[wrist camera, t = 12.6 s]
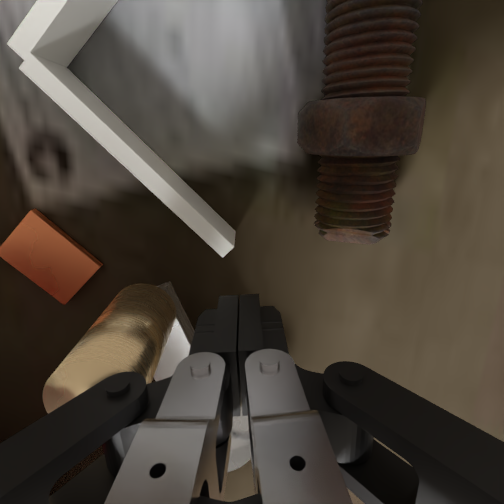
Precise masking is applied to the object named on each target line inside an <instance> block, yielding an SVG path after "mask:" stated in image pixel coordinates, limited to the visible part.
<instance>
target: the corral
mask: <svg viewBox="0 0 504 504" xmlns="http://www.w3.org/2000/svg"><path fill="white" fill-rule="evenodd" d="M117 1H118V0H37V1H36V2H35V4H34V5H33V7H32V8H31V10H30V11H29V13H28V14H27V15H26V17H25V18H24V20H23V21H22V23H21V24H20V25H19V27H18V28H17V30H16V31H15V33H14V34H13V35H12V37H11V38H10V40H9V41H8V43H7V45H8V46H9V47H11V48H12V49H13V50H14V51H15V52H16V53H17V54H18V55H19V56H20V57H21V58H22V59H23V60H24V61H23V63H22V64H21V66H20V67H19V69H20V70H21V71H22V72H23V73H24V74H25V75H26V76H27V77H29V78H30V79H31V80H32V81H33V82H34V83H35V84H36V85H37V86H38V87H39V88H40V89H41V90H43V91H44V92H45V93H46V94H47V95H48V96H49V97H50V98H51V99H52V100H53V101H54V102H55V103H57V104H58V105H59V106H60V107H61V108H62V109H63V110H64V111H65V112H66V113H67V114H68V115H69V116H71V117H72V118H73V119H74V120H75V121H76V122H77V123H78V124H79V125H80V126H81V127H82V128H83V129H85V130H86V131H87V132H88V133H89V134H90V135H91V136H92V137H93V138H94V139H95V140H96V141H97V142H99V143H100V144H101V145H102V146H103V147H104V148H105V149H106V150H107V151H108V152H109V153H110V154H111V155H113V156H114V157H115V158H116V159H117V160H118V161H119V162H120V163H121V164H122V165H123V166H124V167H125V168H126V169H128V170H129V171H130V172H131V173H132V174H133V175H134V176H135V177H136V178H137V179H138V180H139V181H140V182H142V183H143V184H144V185H145V186H146V187H147V188H148V189H149V190H150V191H151V192H152V193H153V194H154V195H156V196H157V197H158V198H159V199H160V200H161V201H162V202H163V203H164V204H165V205H166V206H167V207H168V208H170V209H171V210H172V211H173V212H174V213H175V214H176V215H177V216H178V217H179V218H180V219H181V220H182V221H184V222H185V223H186V224H187V225H188V226H189V227H190V228H191V229H192V230H193V231H194V232H195V233H196V234H198V235H199V236H200V237H201V238H202V239H203V240H204V241H205V242H206V243H207V244H208V245H209V246H210V247H212V248H213V249H214V250H215V251H216V252H217V253H218V254H219V255H220V256H221V257H222V258H223V257H224V256H225V255H226V254H227V253H228V252H230V251H231V250H232V249H233V248H234V245H235V234H236V231H235V230H234V229H233V228H232V227H231V226H230V225H229V224H228V223H227V222H226V221H225V220H223V219H222V218H221V217H220V216H219V215H218V214H217V213H216V212H215V211H214V210H213V209H212V208H211V207H210V206H209V205H208V204H207V203H206V202H205V201H204V200H203V199H202V198H201V197H200V196H199V195H198V194H197V193H196V192H195V191H194V190H193V189H192V188H190V187H189V186H188V185H187V184H186V183H185V182H184V181H183V180H182V179H181V178H180V177H179V176H178V175H177V174H176V173H175V172H174V171H173V170H172V169H171V168H170V167H169V166H168V165H167V164H166V163H165V162H164V161H163V160H162V159H161V158H160V157H159V156H158V155H156V154H155V153H154V152H153V151H152V150H151V149H150V148H149V147H148V146H147V145H146V144H145V143H144V142H143V141H142V140H141V139H140V138H139V137H138V136H137V135H136V134H135V133H134V132H133V131H132V130H131V129H130V128H129V127H128V126H127V125H126V124H125V123H124V122H122V121H121V120H120V119H119V118H118V117H117V116H116V115H115V114H114V113H113V112H112V111H111V110H110V109H109V108H108V107H107V106H106V105H105V104H104V103H103V102H102V101H101V100H100V99H99V98H98V97H97V96H96V95H95V94H94V93H93V92H92V91H91V90H89V89H88V88H87V87H86V86H85V85H84V84H83V83H82V82H81V81H80V80H79V79H78V78H77V77H76V76H75V75H74V74H73V73H72V72H71V71H70V70H69V69H68V68H67V67H68V65H69V64H70V63H71V62H72V60H73V59H74V58H75V56H76V55H77V54H78V52H79V51H80V50H81V48H82V47H83V46H84V44H85V43H86V42H87V41H88V39H89V38H90V37H91V35H92V34H93V33H94V31H95V30H96V29H97V27H98V26H99V25H100V23H101V22H102V21H103V19H104V18H105V17H106V16H107V14H108V13H109V12H110V10H111V9H112V8H113V6H114V5H115V4H116V2H117Z"/></svg>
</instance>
